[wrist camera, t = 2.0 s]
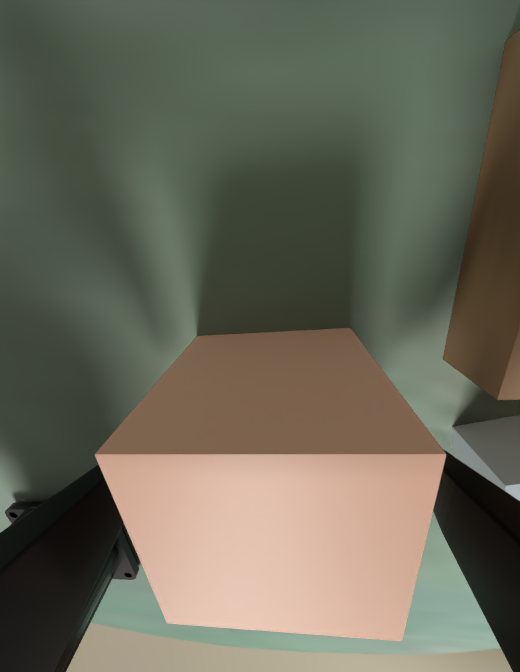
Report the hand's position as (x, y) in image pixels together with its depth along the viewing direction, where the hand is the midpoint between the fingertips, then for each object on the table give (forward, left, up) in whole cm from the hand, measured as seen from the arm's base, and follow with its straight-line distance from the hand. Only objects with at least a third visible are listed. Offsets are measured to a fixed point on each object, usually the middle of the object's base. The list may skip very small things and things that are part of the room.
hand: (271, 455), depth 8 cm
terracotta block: (0, 0, -3) cm, 3 cm away
